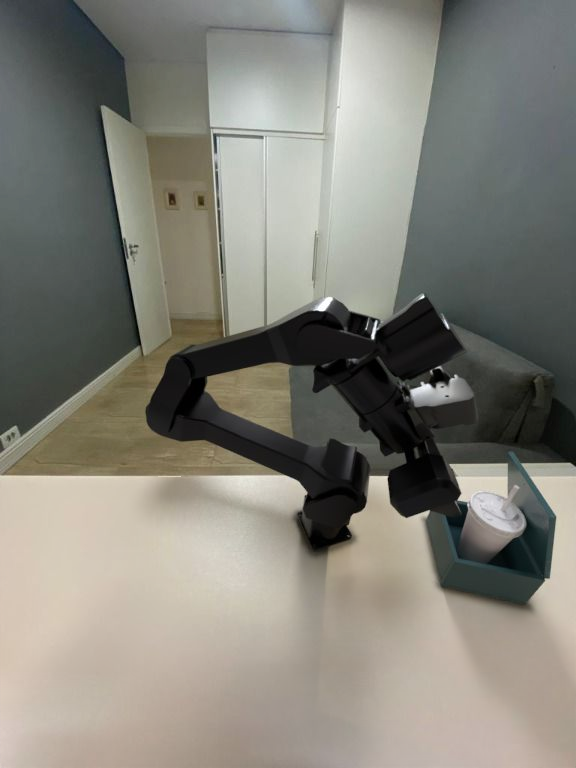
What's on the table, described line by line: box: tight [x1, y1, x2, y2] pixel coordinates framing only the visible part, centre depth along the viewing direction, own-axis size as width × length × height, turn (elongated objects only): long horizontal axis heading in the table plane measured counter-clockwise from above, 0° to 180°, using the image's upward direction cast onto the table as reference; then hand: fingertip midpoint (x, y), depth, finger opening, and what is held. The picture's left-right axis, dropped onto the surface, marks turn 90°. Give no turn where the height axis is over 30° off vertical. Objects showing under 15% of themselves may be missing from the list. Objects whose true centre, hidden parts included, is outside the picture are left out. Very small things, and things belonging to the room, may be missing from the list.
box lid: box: [507, 450, 557, 580], centre depth 38 cm, size 11×10×1 cm
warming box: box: [425, 499, 546, 605], centre depth 43 cm, size 10×10×6 cm
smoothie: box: [457, 485, 527, 564], centre depth 40 cm, size 6×6×14 cm
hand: (446, 484), depth 39 cm, fingers open, 9 cm apart
